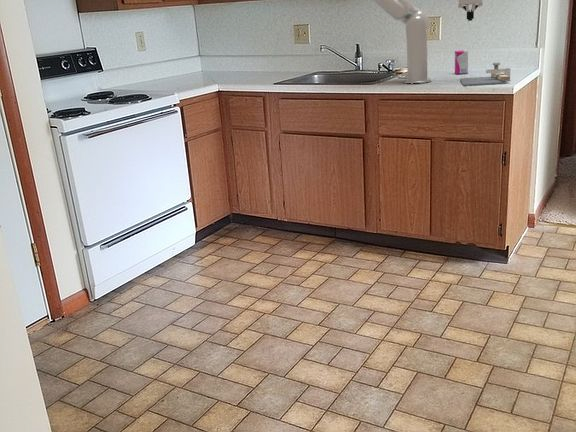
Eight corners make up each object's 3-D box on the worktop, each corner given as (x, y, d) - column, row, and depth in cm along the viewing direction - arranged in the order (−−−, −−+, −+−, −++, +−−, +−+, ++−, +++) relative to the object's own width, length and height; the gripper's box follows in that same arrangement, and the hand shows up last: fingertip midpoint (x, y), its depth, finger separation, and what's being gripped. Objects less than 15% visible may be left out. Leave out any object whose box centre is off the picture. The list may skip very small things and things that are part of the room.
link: (489, 76, 291) (490, 62, 289) (499, 75, 291) (499, 62, 289) (501, 81, 274) (501, 67, 272) (511, 80, 274) (511, 66, 272)
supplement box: (466, 72, 318) (466, 49, 315) (468, 74, 313) (468, 50, 309) (454, 73, 319) (454, 50, 315) (456, 74, 314) (456, 51, 310)
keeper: (486, 82, 283) (486, 70, 281) (486, 81, 285) (486, 69, 283) (510, 80, 281) (510, 68, 279) (509, 79, 283) (509, 68, 281)
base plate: (463, 86, 277) (463, 84, 277) (460, 80, 295) (460, 78, 295) (506, 83, 273) (506, 81, 273) (500, 77, 291) (500, 76, 291)
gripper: (453, -21, 275) (453, 22, 281) (489, -24, 272) (488, 19, 278) (453, -21, 282) (452, 21, 288) (487, -24, 279) (486, 19, 285)
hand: (470, 20), depth 283 cm, fingers closed
